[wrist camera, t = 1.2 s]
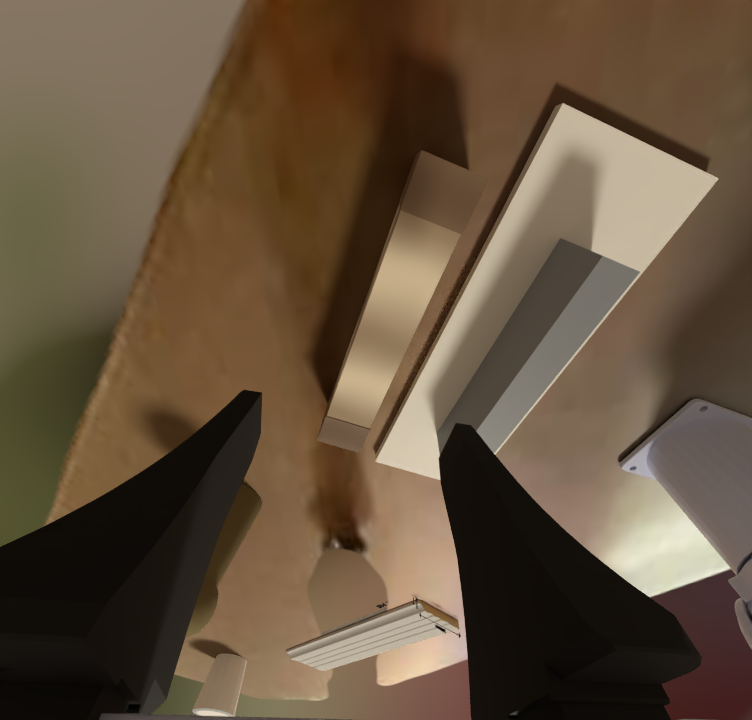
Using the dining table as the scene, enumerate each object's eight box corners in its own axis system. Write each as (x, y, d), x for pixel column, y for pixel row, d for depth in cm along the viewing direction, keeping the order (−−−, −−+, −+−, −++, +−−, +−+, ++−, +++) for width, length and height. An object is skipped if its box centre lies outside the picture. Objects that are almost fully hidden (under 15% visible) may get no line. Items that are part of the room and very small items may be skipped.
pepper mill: (198, 505, 34) (123, 634, 24) (209, 472, 31) (128, 604, 22) (253, 522, 35) (201, 652, 26) (269, 492, 32) (216, 626, 23)
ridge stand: (705, 178, 17) (813, 181, 12) (466, 480, 30) (478, 533, 25) (555, 105, 15) (617, 82, 11) (375, 454, 28) (372, 505, 24)
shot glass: (243, 652, 56) (225, 710, 50) (254, 666, 60) (239, 722, 54) (207, 651, 57) (184, 708, 51) (220, 665, 60) (201, 720, 54)
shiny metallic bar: (416, 153, 17) (421, 149, 13) (469, 176, 17) (488, 178, 14) (327, 403, 26) (316, 440, 22) (363, 414, 26) (359, 452, 23)
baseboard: (280, 643, 55) (325, 660, 58) (275, 665, 52) (322, 681, 56) (411, 590, 42) (458, 616, 46) (412, 616, 40) (461, 641, 43)
